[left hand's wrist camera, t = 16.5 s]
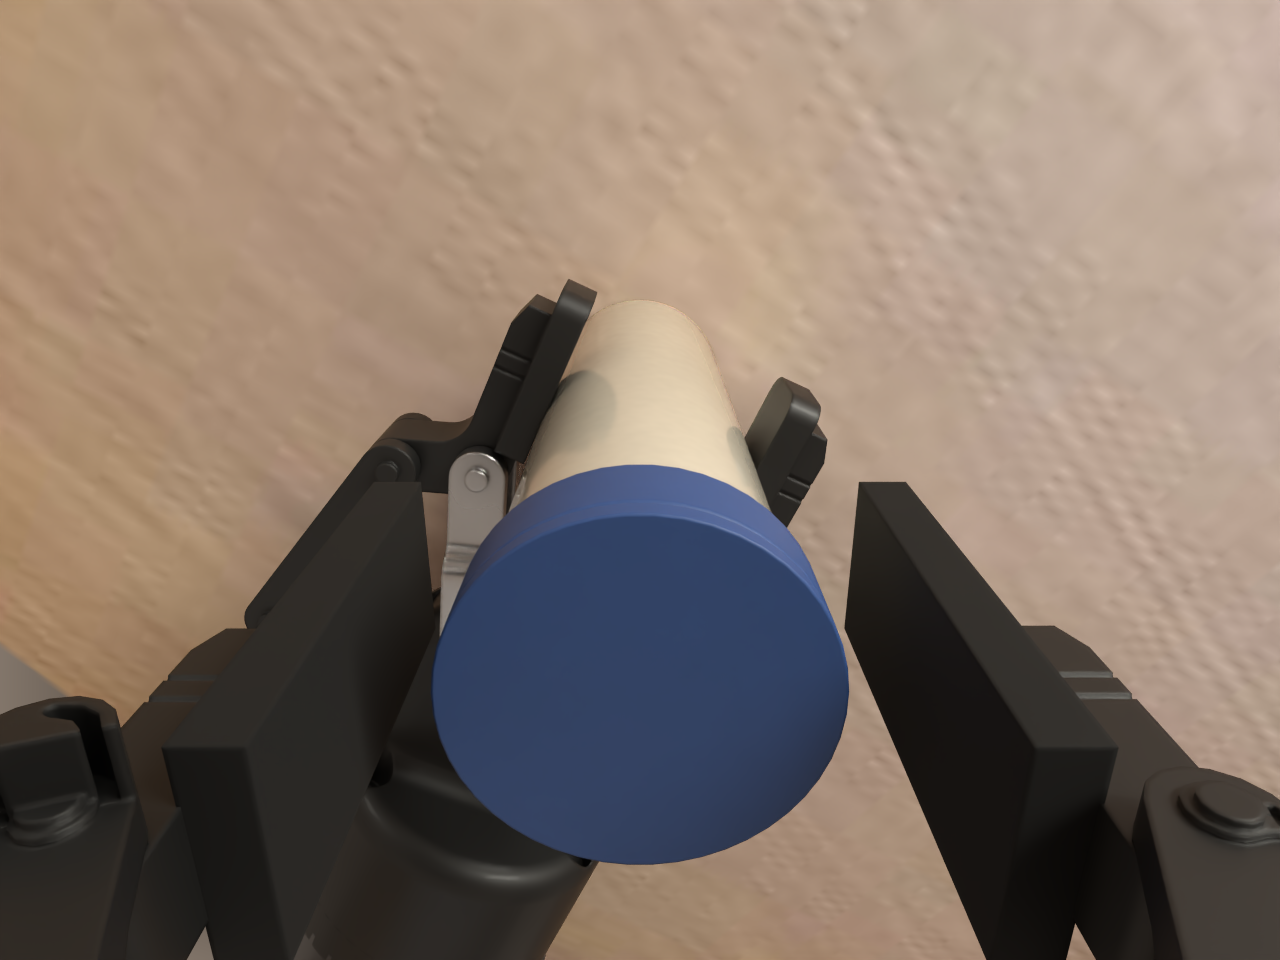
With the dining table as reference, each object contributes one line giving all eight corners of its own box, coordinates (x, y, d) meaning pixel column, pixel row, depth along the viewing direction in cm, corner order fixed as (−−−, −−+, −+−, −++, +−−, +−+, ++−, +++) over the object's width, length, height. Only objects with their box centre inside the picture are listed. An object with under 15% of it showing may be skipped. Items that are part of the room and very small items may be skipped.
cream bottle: (621, 476, 27) (600, 866, 12) (532, 357, 25) (387, 637, 11) (745, 395, 26) (883, 712, 11) (659, 267, 24) (689, 439, 10)
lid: (897, 588, 12) (937, 656, 10) (685, 830, 13) (691, 921, 12) (583, 388, 11) (574, 427, 9) (393, 675, 12) (356, 752, 11)
